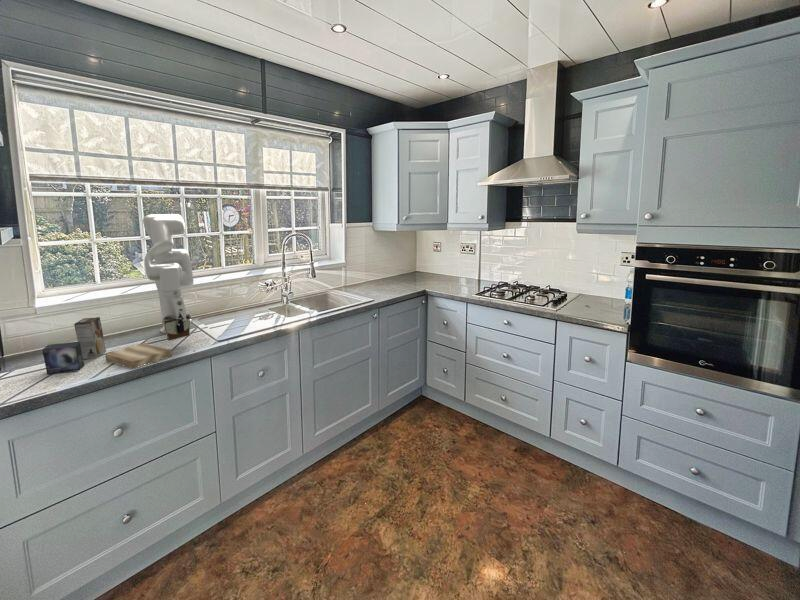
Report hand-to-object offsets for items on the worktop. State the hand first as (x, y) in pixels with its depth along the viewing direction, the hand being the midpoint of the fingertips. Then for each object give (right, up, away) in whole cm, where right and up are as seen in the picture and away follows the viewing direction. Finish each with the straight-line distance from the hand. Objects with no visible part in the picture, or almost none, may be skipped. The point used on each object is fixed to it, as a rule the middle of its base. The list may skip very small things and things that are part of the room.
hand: (176, 331), depth 184 cm
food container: (-1, -3, +1) cm, 3 cm away
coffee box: (-31, -10, -9) cm, 34 cm away
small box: (-30, -14, -25) cm, 41 cm away
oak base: (-8, -10, -13) cm, 19 cm away
